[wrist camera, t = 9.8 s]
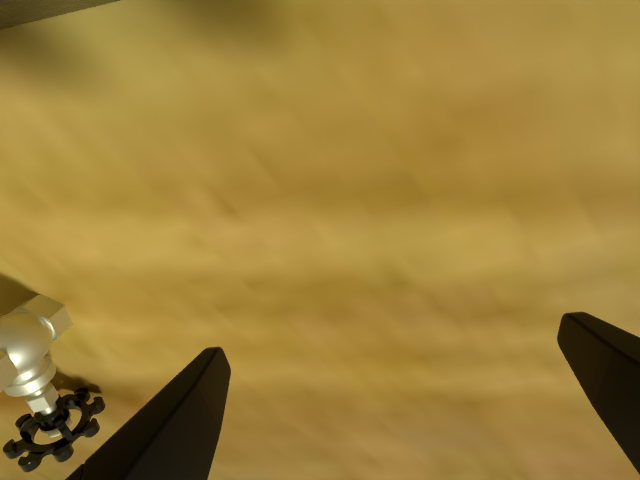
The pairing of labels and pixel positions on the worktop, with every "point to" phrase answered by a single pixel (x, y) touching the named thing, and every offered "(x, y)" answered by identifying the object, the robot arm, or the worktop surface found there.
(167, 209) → the worktop surface
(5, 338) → the valve
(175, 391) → the robot arm
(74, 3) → the square hole board
